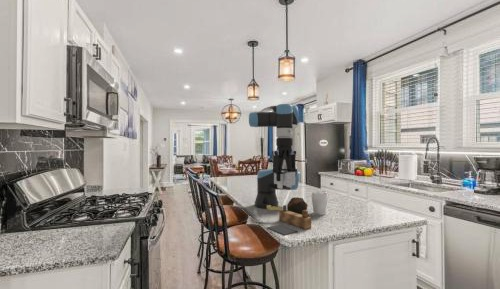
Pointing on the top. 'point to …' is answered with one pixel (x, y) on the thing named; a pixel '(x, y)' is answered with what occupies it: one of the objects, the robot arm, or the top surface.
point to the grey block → (286, 178)
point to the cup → (319, 202)
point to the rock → (297, 205)
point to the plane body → (295, 218)
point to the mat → (282, 229)
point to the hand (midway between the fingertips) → (284, 187)
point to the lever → (274, 207)
